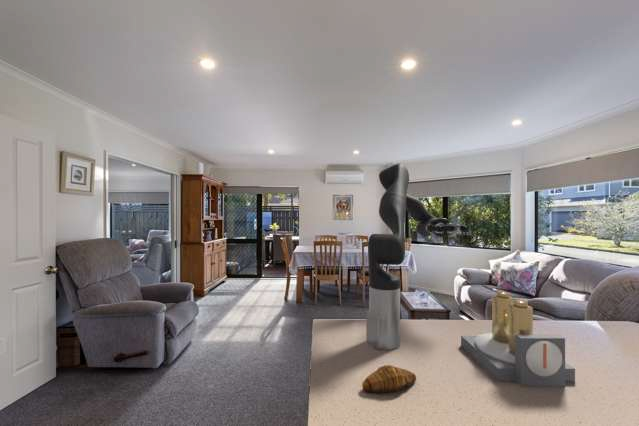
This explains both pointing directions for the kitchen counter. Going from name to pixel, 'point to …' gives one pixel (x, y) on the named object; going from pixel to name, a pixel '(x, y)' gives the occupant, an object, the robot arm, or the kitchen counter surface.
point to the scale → (523, 359)
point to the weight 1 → (501, 316)
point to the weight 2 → (519, 321)
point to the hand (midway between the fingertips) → (453, 229)
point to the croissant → (388, 379)
